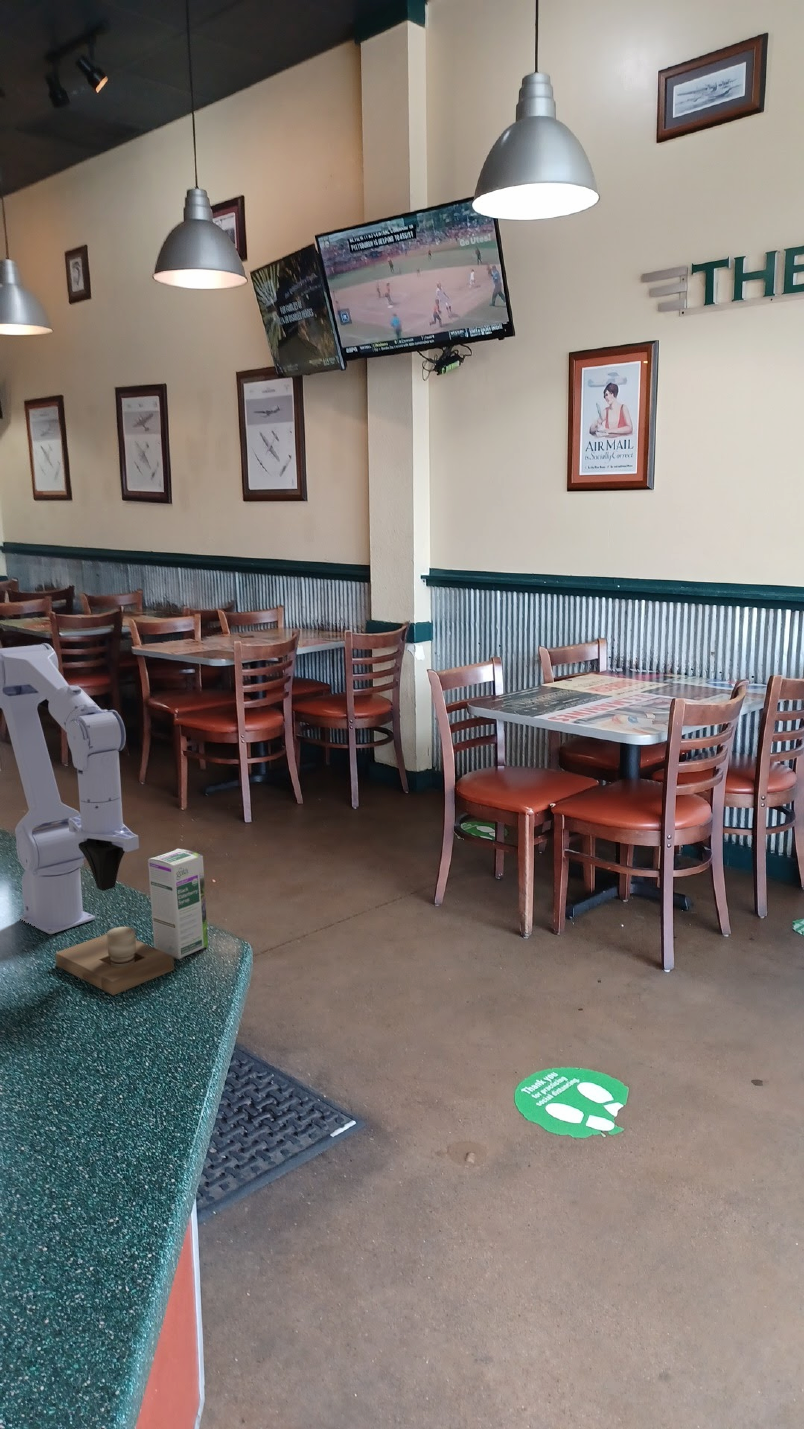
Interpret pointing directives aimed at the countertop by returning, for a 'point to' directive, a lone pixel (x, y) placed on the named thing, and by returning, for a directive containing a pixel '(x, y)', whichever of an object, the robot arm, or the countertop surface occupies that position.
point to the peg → (121, 946)
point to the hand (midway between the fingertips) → (106, 888)
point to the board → (97, 969)
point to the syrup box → (178, 902)
